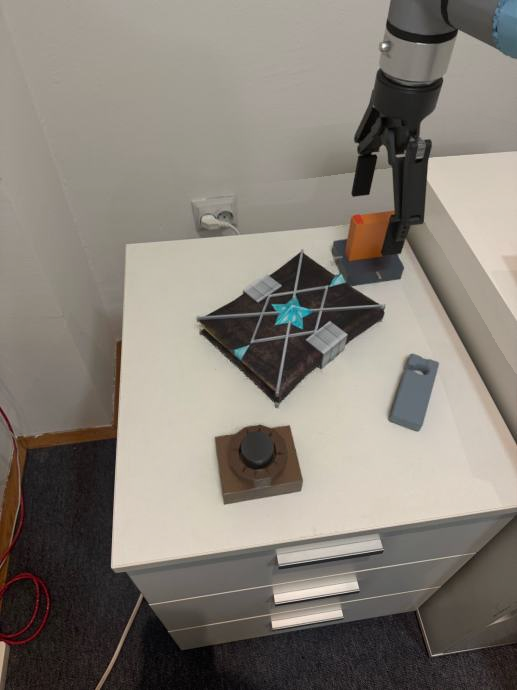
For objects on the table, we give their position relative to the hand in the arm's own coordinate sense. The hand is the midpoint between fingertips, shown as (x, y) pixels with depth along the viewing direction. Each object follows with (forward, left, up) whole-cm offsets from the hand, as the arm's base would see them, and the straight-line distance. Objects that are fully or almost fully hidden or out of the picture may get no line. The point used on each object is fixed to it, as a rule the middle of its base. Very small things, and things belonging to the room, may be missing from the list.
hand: (374, 222), depth 72 cm
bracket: (-16, +19, -9) cm, 26 cm away
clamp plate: (0, 0, -9) cm, 9 cm away
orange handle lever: (0, 0, -6) cm, 6 cm away
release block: (-5, +39, -9) cm, 40 cm away
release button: (-5, +39, -4) cm, 39 cm away
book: (+3, +18, -9) cm, 20 cm away
